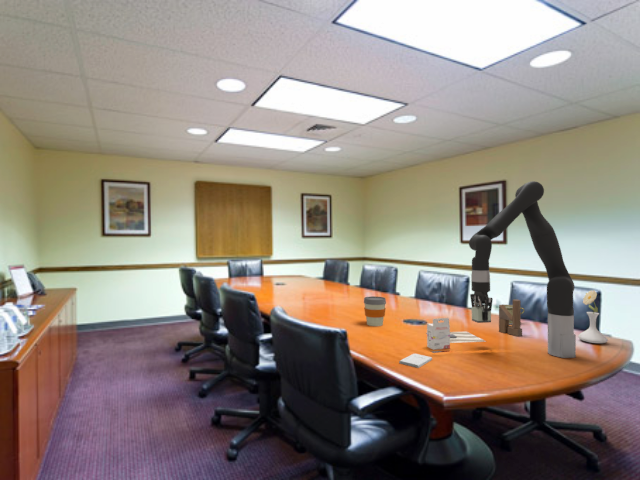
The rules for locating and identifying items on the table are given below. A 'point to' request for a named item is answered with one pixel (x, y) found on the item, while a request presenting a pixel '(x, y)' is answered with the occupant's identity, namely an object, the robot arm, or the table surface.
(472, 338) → the birch board
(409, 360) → the external hard drive
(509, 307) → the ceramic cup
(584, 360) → the table surface
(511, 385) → the table surface
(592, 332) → the flower in vase
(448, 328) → the ink cartridge box
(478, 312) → the block
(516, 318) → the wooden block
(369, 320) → the reusable coffee cup
